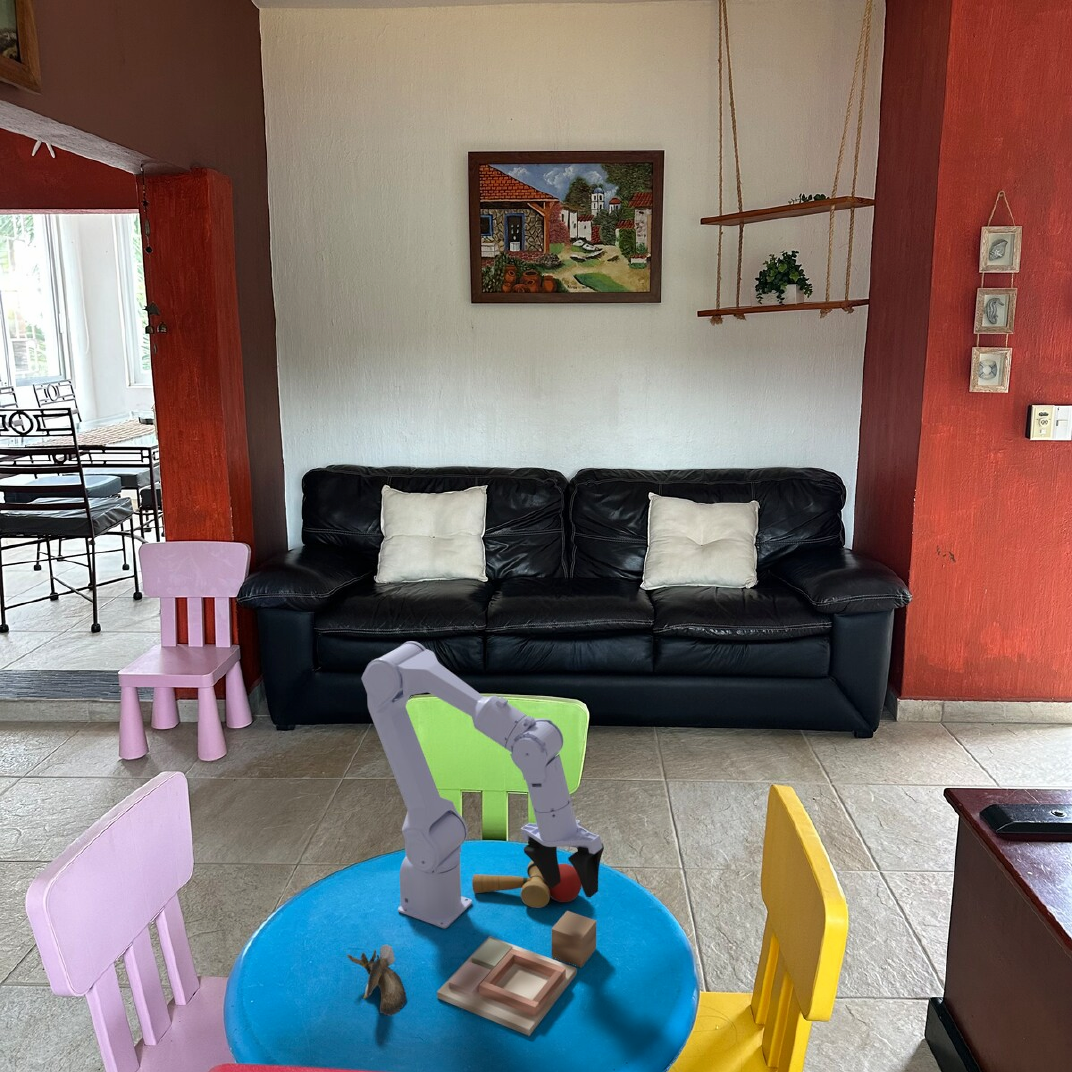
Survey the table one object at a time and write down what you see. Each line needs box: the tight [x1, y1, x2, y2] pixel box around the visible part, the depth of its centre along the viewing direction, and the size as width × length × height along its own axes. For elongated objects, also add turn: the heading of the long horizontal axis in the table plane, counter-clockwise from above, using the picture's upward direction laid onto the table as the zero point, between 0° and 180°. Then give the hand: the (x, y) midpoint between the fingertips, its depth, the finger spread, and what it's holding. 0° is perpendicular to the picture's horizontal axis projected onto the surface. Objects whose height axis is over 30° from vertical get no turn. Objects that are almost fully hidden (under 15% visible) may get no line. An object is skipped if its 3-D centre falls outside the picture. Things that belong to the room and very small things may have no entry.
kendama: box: [471, 860, 583, 909], centre depth 161 cm, size 8×6×18 cm
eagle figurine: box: [347, 944, 407, 1017], centre depth 138 cm, size 8×7×9 cm
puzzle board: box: [436, 935, 578, 1037], centre depth 140 cm, size 15×14×2 cm
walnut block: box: [550, 910, 597, 969], centre depth 147 cm, size 5×5×5 cm
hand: (573, 889), depth 144 cm, fingers open, 7 cm apart
